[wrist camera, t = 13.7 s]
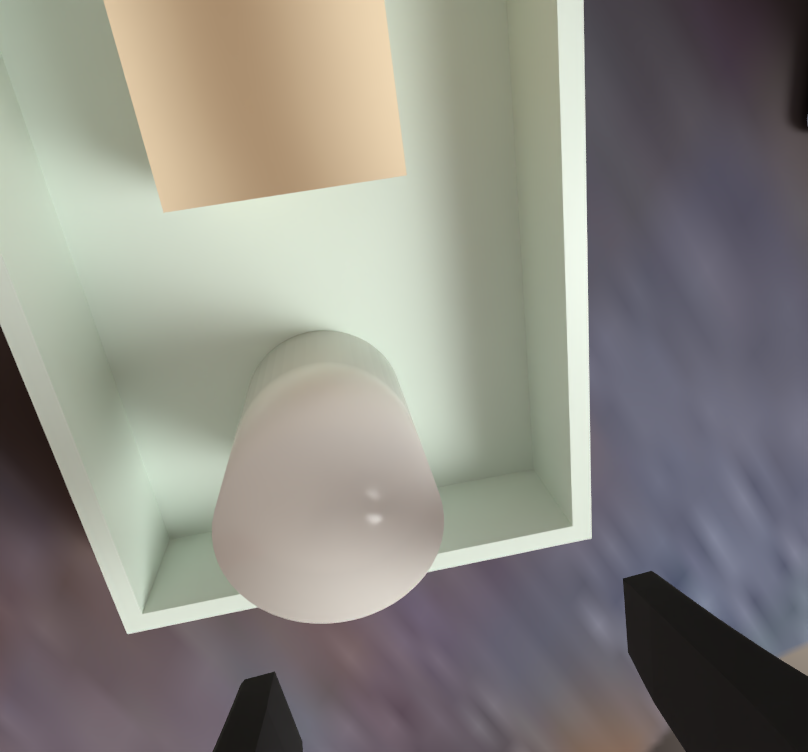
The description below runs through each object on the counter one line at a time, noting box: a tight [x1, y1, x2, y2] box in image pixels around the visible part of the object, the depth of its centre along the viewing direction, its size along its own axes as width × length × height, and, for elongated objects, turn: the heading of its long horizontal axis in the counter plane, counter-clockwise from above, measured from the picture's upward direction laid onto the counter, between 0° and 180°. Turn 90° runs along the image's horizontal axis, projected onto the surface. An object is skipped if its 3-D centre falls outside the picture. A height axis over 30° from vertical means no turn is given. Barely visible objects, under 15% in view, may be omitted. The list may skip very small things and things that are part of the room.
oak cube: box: [103, 0, 407, 213], centre depth 13 cm, size 5×5×5 cm
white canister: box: [212, 331, 444, 623], centre depth 16 cm, size 5×5×7 cm
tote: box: [0, 0, 592, 634], centre depth 16 cm, size 14×19×4 cm
